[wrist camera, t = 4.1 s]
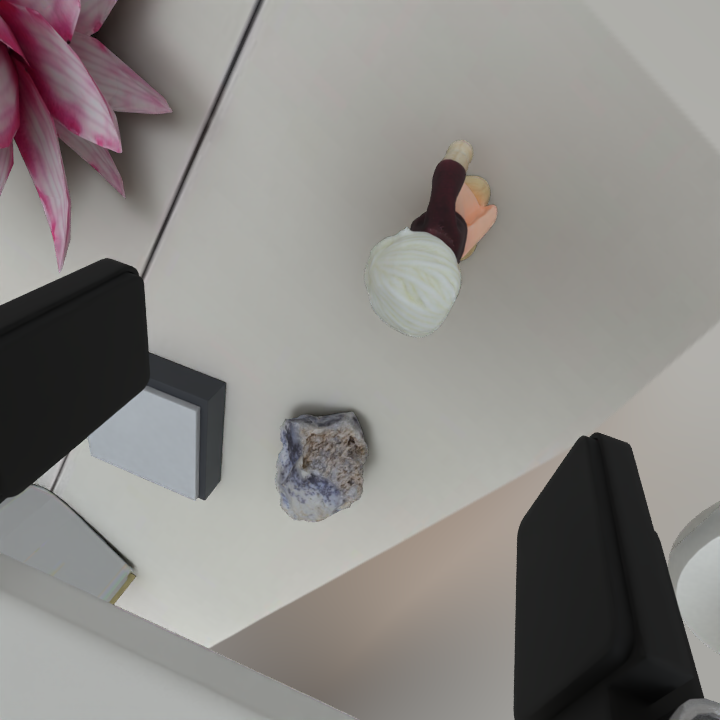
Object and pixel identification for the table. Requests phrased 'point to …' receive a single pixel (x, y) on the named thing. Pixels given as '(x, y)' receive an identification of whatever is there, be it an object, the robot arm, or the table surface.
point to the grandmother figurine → (431, 249)
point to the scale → (168, 431)
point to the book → (61, 544)
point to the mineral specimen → (320, 465)
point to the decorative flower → (63, 98)
